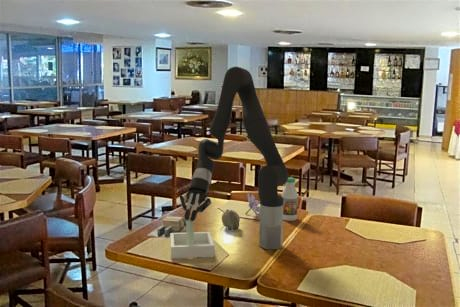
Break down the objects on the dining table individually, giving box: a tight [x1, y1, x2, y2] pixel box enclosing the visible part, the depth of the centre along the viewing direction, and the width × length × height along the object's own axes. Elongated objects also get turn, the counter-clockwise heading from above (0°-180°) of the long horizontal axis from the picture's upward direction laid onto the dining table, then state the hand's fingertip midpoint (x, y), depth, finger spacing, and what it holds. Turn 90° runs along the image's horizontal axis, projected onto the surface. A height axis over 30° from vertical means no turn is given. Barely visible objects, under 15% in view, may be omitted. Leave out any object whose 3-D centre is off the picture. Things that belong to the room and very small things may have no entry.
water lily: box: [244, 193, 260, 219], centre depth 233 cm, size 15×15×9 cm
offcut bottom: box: [160, 222, 184, 231], centre depth 209 cm, size 6×8×2 cm
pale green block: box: [185, 216, 195, 245], centre depth 184 cm, size 4×2×11 cm, turn 163°
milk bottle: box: [281, 176, 299, 222], centre depth 227 cm, size 8×8×20 cm
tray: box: [169, 231, 215, 260], centre depth 185 cm, size 16×16×4 cm
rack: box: [146, 215, 186, 239], centre depth 207 cm, size 20×12×4 cm, turn 163°
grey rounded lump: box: [221, 209, 241, 231], centre depth 211 cm, size 9×8×10 cm
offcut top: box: [162, 216, 182, 226], centre depth 209 cm, size 6×7×2 cm
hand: (189, 219), depth 182 cm, fingers closed on pale green block, 1 cm apart
